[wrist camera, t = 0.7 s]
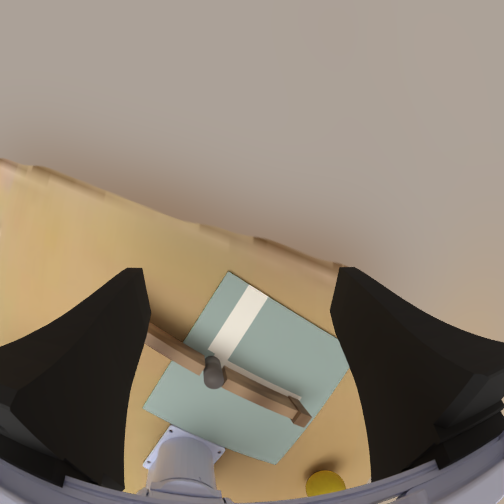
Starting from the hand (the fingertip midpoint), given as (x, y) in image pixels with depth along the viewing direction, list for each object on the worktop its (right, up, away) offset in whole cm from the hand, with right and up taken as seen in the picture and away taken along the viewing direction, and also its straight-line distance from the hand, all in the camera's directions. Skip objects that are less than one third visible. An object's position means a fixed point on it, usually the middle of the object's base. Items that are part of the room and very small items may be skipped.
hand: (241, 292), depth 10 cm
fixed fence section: (0, -14, +21) cm, 26 cm away
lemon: (+10, -33, +23) cm, 41 cm away
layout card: (+1, -15, +21) cm, 26 cm away
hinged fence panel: (-10, -8, +19) cm, 23 cm away
